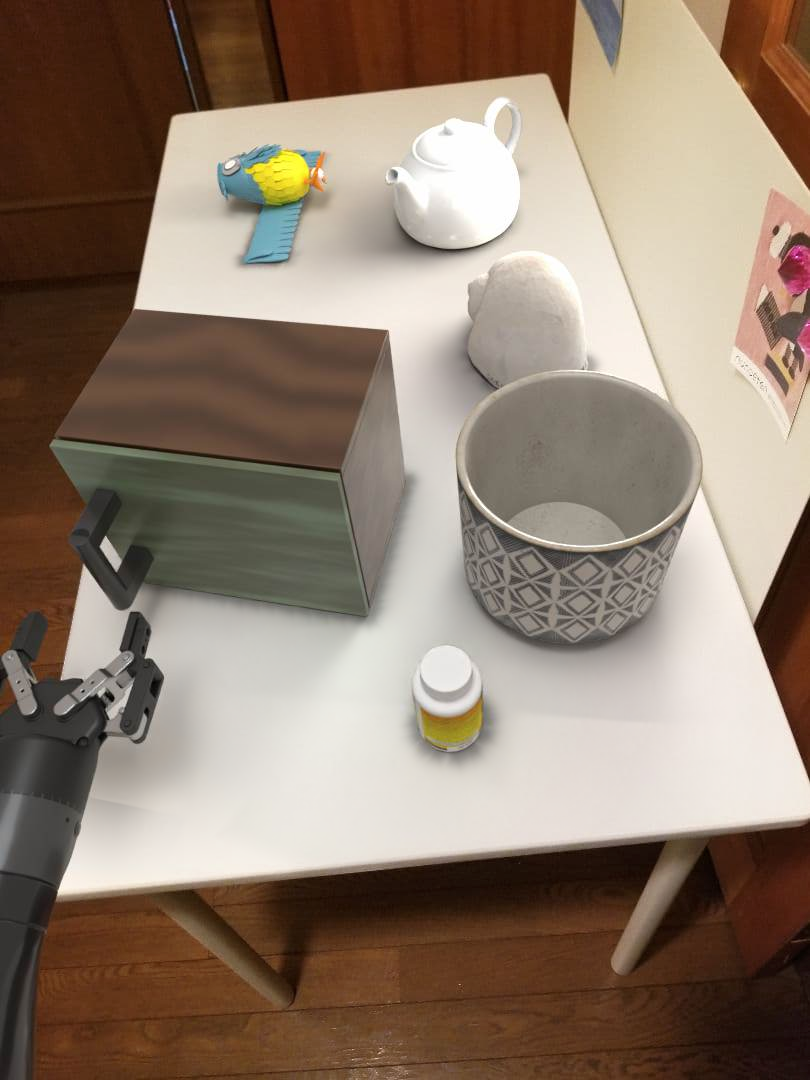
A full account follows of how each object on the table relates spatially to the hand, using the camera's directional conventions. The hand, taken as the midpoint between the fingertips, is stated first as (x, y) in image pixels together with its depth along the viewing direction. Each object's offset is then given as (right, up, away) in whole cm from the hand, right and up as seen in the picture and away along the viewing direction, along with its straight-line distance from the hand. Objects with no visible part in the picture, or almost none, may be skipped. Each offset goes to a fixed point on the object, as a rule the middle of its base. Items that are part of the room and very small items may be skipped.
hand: (89, 615), depth 66 cm
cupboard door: (+10, -1, +10) cm, 15 cm away
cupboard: (+13, +8, +17) cm, 22 cm away
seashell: (+40, +29, +30) cm, 58 cm away
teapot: (+34, +51, +47) cm, 77 cm away
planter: (+41, +3, +11) cm, 42 cm away
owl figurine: (+7, +55, +52) cm, 76 cm away
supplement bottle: (+30, -10, +3) cm, 31 cm away
